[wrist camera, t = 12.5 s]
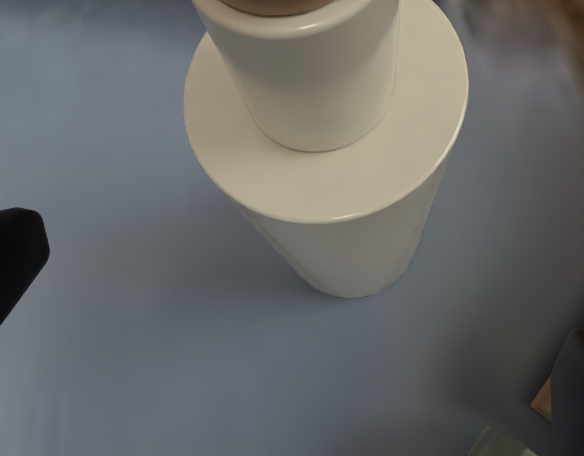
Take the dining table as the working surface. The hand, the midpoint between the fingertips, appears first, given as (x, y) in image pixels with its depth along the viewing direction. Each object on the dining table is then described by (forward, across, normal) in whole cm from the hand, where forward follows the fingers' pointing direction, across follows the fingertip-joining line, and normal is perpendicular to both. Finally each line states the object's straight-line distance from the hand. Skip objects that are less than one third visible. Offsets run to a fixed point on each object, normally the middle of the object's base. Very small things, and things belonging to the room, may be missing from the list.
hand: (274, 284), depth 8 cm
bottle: (+10, 0, +5) cm, 11 cm away
